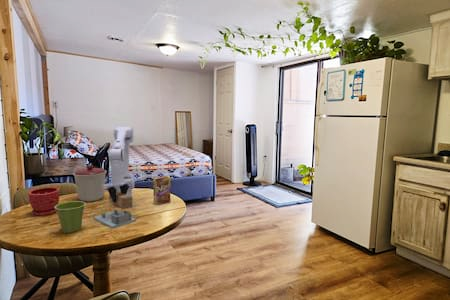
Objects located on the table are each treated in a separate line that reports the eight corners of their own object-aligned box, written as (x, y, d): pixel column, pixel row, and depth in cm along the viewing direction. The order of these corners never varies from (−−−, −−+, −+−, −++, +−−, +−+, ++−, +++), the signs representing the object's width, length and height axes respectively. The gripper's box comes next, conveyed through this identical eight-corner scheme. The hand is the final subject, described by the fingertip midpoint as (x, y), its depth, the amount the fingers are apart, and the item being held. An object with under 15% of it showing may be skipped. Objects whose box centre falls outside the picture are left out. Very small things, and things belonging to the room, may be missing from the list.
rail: (109, 202, 137) (109, 192, 136) (117, 200, 140) (116, 191, 139) (124, 209, 128) (124, 198, 127) (132, 207, 131) (132, 196, 130)
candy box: (155, 205, 155) (155, 178, 153) (153, 203, 158) (152, 177, 156) (170, 202, 159) (170, 176, 158) (168, 200, 163) (167, 175, 161)
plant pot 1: (24, 214, 139) (22, 191, 138) (51, 207, 151) (49, 185, 150) (39, 219, 133) (37, 195, 132) (66, 211, 145) (64, 188, 143)
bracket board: (93, 218, 134) (92, 209, 133) (116, 212, 143) (116, 203, 143) (112, 228, 122) (111, 218, 122) (136, 220, 132) (135, 211, 131)
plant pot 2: (84, 233, 117) (82, 208, 116) (52, 237, 114) (50, 210, 112) (89, 223, 128) (88, 199, 127) (60, 226, 125) (58, 202, 124)
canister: (77, 196, 172) (75, 162, 169) (109, 193, 177) (107, 161, 174) (71, 205, 154) (68, 168, 152) (106, 202, 160) (104, 166, 157)
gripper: (107, 177, 125) (108, 206, 127) (135, 172, 136) (136, 199, 138) (99, 175, 129) (101, 203, 131) (127, 170, 140) (128, 196, 142)
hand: (118, 200), depth 135 cm, fingers closed on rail, 4 cm apart
